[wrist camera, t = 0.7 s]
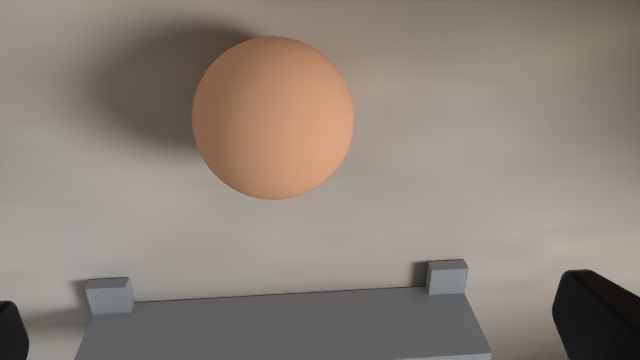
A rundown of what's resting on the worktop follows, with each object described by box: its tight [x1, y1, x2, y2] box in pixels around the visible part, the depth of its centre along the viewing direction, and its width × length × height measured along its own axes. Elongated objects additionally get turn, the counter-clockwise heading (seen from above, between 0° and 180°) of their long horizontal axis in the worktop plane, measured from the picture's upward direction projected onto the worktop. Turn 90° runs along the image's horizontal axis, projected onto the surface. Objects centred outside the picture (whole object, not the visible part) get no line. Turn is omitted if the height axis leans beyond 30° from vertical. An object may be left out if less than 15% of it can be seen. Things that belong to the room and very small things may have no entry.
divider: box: [74, 260, 492, 360], centre depth 22 cm, size 16×4×4 cm, turn 90°
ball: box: [192, 36, 354, 200], centre depth 16 cm, size 5×5×5 cm
